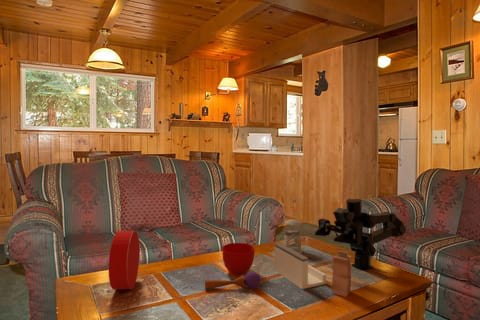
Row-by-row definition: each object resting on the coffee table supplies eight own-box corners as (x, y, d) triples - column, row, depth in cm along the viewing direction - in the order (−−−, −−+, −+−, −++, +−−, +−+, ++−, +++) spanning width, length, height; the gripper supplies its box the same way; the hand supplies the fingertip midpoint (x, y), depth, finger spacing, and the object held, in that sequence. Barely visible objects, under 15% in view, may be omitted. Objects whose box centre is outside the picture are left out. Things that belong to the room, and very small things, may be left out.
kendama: (204, 274, 124) (258, 269, 126) (205, 291, 123) (260, 285, 125) (204, 278, 118) (261, 272, 120) (205, 296, 117) (262, 290, 119)
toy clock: (124, 275, 131) (123, 224, 130) (139, 275, 132) (139, 224, 130) (108, 300, 111) (108, 240, 110) (127, 299, 112) (126, 240, 110)
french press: (281, 247, 168) (283, 197, 167) (305, 248, 167) (306, 198, 165) (282, 253, 158) (283, 201, 157) (307, 255, 157) (308, 201, 156)
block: (336, 287, 123) (337, 248, 122) (350, 291, 120) (351, 251, 119) (331, 293, 119) (333, 252, 118) (346, 296, 116) (347, 255, 115)
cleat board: (296, 266, 143) (297, 240, 143) (325, 283, 126) (326, 254, 126) (274, 270, 139) (274, 243, 138) (301, 289, 122) (302, 259, 121)
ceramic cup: (252, 262, 147) (252, 240, 146) (255, 279, 130) (255, 253, 129) (222, 262, 146) (222, 239, 146) (221, 278, 129) (221, 253, 129)
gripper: (330, 203, 143) (305, 211, 134) (370, 211, 128) (343, 221, 119) (332, 228, 145) (306, 238, 136) (371, 239, 130) (345, 251, 121)
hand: (324, 236), depth 128 cm, fingers open, 9 cm apart
